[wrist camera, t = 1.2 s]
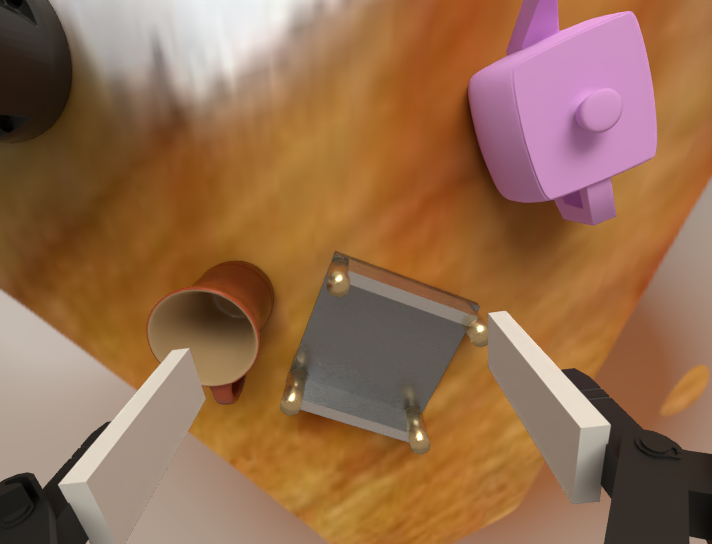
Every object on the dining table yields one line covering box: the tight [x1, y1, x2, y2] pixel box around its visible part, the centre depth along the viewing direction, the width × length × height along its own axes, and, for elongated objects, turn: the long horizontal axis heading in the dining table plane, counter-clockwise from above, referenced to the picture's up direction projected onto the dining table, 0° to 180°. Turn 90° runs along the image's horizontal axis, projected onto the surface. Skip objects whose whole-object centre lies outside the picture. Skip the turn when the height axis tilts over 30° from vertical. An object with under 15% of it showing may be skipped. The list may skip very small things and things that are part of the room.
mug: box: [147, 261, 274, 405], centre depth 34 cm, size 12×9×10 cm
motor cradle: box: [280, 251, 488, 454], centre depth 37 cm, size 16×16×6 cm
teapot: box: [468, 0, 657, 225], centre depth 28 cm, size 18×10×10 cm, turn 24°
